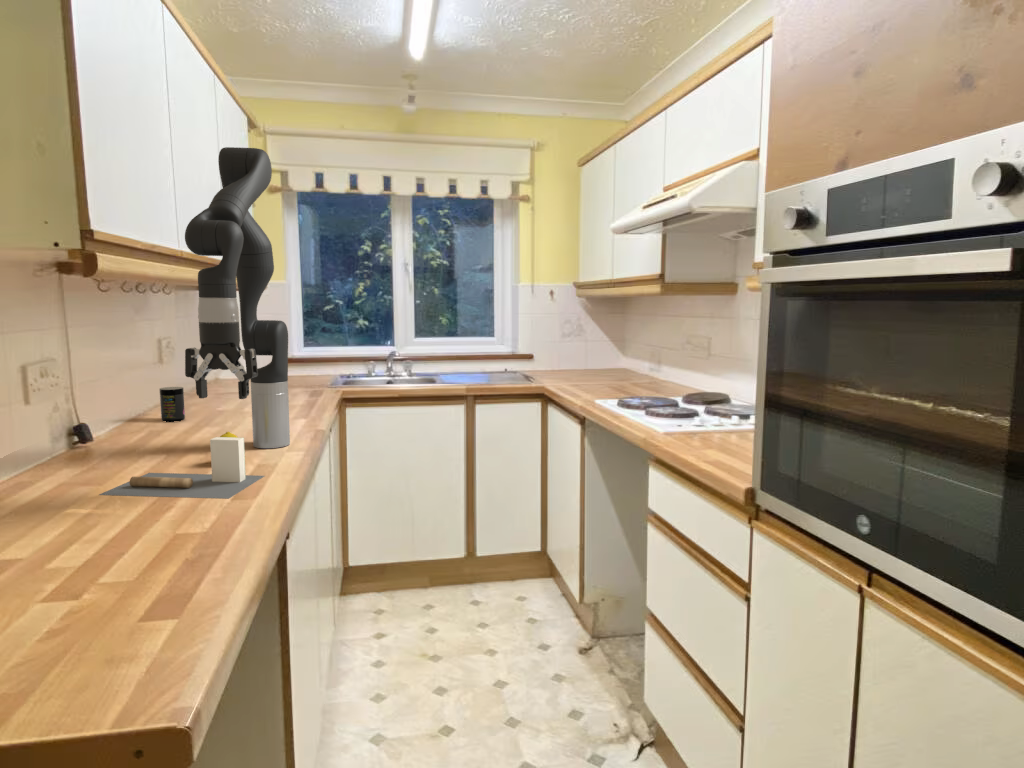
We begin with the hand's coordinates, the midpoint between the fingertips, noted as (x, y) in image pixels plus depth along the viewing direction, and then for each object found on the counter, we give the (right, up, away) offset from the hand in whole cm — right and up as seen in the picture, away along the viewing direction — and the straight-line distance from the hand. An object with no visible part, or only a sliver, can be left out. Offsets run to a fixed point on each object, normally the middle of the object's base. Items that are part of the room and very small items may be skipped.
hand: (223, 398), depth 131 cm
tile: (0, -17, +2) cm, 18 cm away
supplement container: (-48, -9, +69) cm, 84 cm away
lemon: (-6, -16, +17) cm, 24 cm away
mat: (-7, -18, -1) cm, 20 cm away
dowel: (-11, -19, -3) cm, 22 cm away
